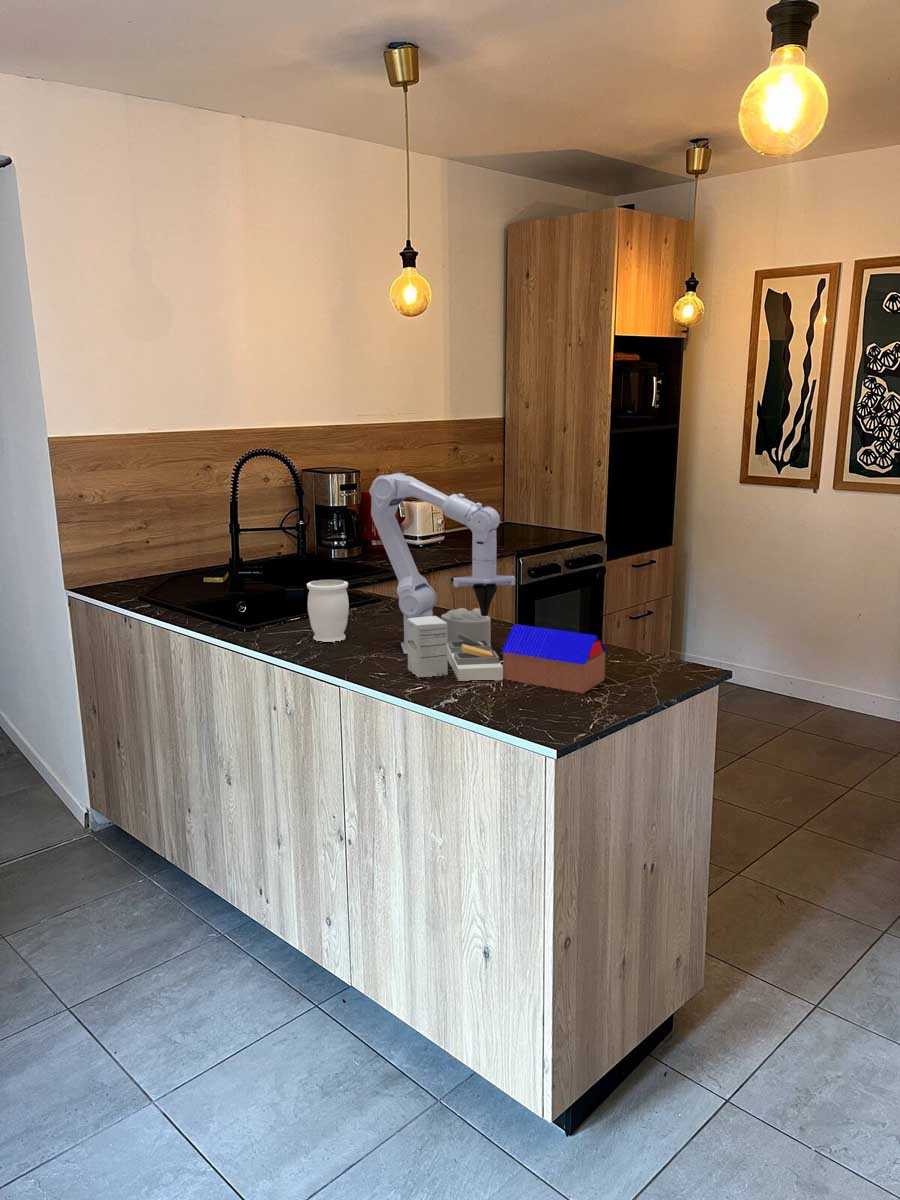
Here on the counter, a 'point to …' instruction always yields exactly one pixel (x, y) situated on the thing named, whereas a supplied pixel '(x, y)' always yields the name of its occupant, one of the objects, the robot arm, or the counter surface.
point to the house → (553, 658)
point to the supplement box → (427, 646)
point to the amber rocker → (476, 651)
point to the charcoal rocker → (469, 639)
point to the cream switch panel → (473, 663)
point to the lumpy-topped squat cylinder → (467, 624)
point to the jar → (328, 609)
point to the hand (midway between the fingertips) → (484, 615)
